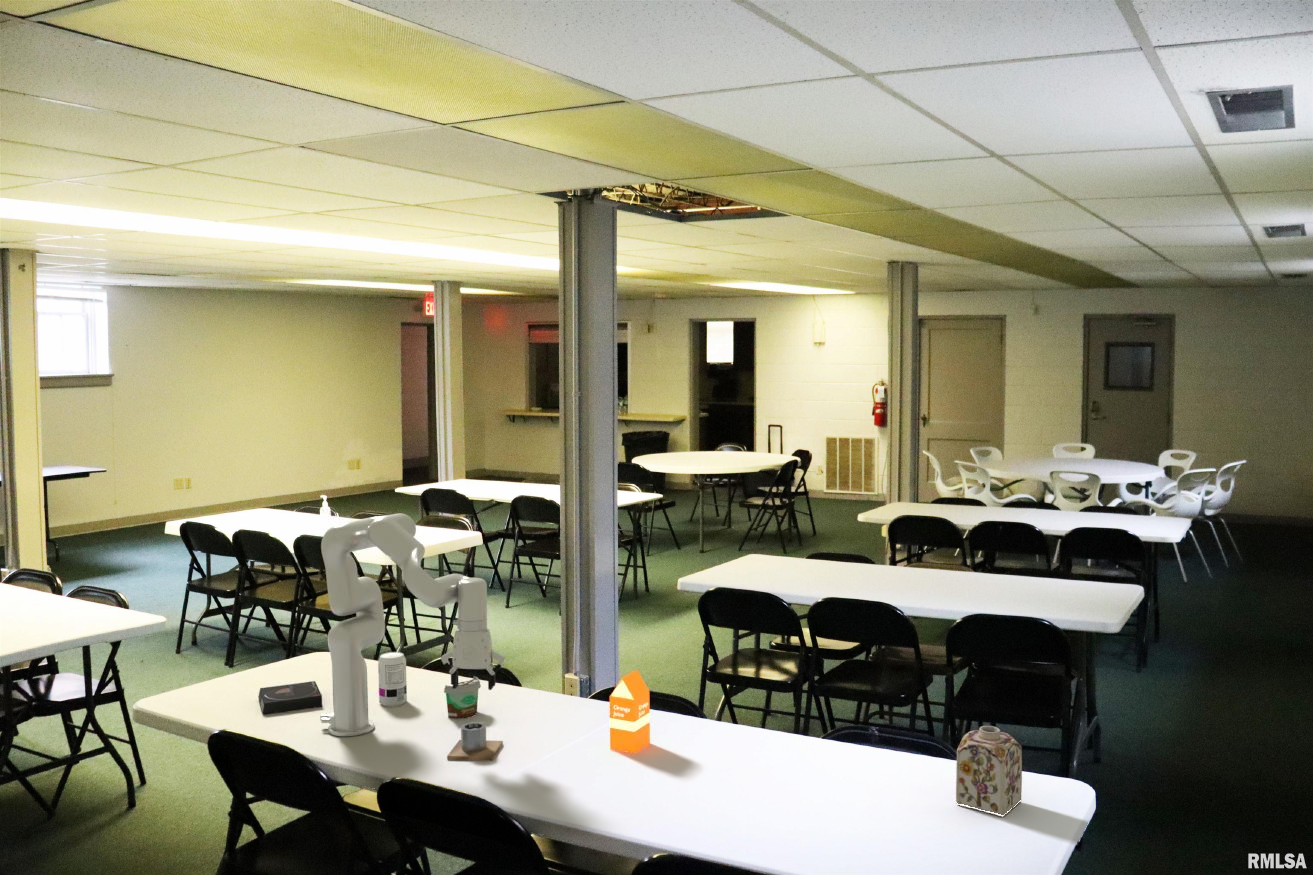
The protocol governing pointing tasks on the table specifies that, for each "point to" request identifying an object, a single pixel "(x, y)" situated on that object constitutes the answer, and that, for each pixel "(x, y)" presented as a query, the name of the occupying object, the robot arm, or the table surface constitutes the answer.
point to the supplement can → (392, 679)
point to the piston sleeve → (473, 737)
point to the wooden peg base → (484, 755)
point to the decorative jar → (989, 770)
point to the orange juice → (630, 714)
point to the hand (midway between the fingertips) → (473, 687)
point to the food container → (462, 699)
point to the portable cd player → (290, 697)
